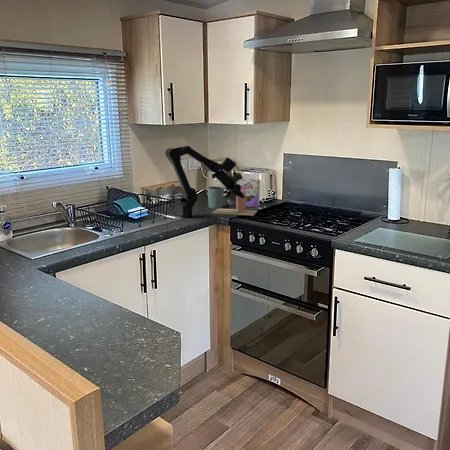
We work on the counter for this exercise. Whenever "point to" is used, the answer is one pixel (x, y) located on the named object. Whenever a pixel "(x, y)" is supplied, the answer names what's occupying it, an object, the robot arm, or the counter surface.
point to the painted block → (241, 202)
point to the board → (235, 212)
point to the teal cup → (215, 196)
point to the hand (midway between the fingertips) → (243, 197)
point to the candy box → (250, 191)
